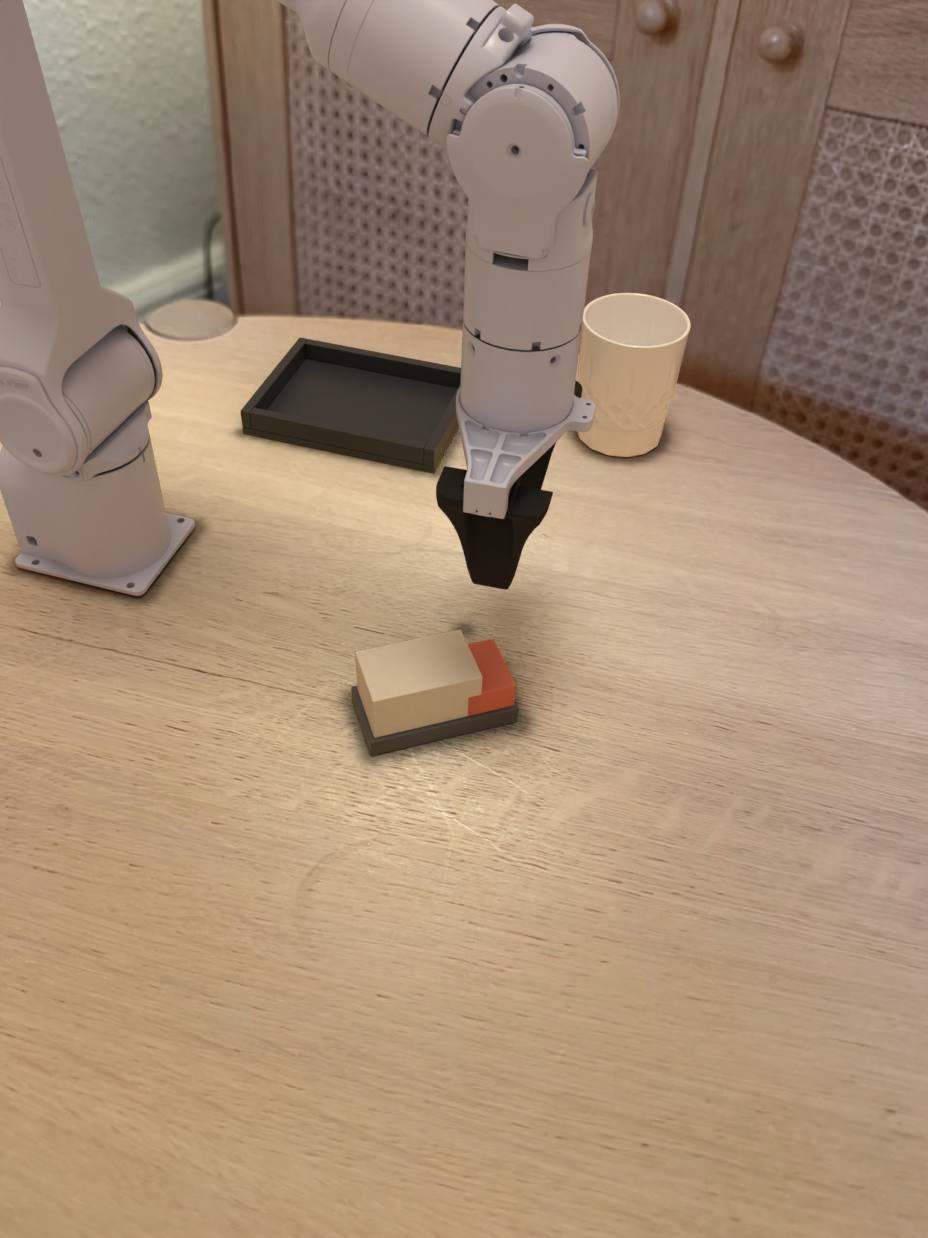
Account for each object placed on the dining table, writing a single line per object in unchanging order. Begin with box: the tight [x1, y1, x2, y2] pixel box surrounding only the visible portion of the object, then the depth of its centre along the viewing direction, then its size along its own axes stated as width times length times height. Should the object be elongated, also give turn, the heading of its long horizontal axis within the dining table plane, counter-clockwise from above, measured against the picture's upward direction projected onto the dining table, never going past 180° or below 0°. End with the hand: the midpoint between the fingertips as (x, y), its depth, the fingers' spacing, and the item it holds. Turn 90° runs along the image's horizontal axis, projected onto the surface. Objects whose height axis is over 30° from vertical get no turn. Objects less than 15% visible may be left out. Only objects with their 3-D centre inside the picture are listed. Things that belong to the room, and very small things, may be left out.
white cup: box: [577, 292, 692, 458], centre depth 82 cm, size 8×8×10 cm
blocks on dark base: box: [350, 629, 520, 757], centre depth 63 cm, size 9×4×4 cm, turn 108°
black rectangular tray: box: [240, 337, 461, 474], centre depth 86 cm, size 16×12×2 cm
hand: (505, 538), depth 61 cm, fingers open, 7 cm apart
